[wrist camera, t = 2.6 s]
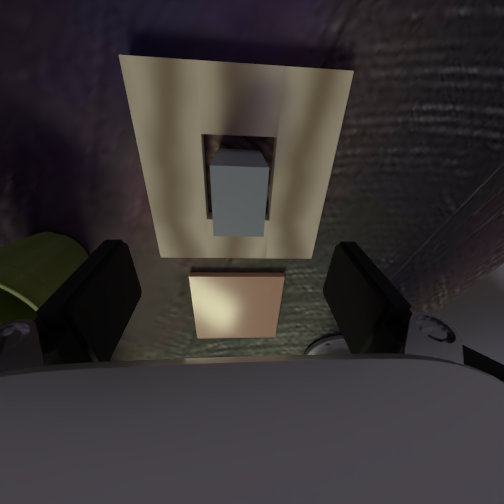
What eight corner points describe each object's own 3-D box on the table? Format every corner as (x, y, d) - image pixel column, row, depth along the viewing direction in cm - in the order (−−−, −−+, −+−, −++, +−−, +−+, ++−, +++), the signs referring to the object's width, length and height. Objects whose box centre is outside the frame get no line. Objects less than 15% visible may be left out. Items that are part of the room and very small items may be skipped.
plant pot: (20, 193, 26) (-107, 242, 16) (122, 248, 30) (68, 311, 21) (-1, 260, 30) (-111, 328, 21) (90, 298, 35) (34, 369, 25)
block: (259, 149, 25) (269, 167, 17) (256, 202, 28) (263, 236, 20) (218, 148, 24) (209, 165, 17) (220, 201, 27) (213, 235, 20)
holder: (344, 73, 21) (353, 70, 20) (307, 250, 32) (311, 258, 30) (128, 59, 20) (118, 54, 18) (165, 249, 31) (160, 257, 29)
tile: (283, 272, 34) (284, 276, 33) (274, 332, 41) (275, 337, 41) (190, 272, 33) (189, 276, 32) (198, 333, 40) (197, 338, 40)
